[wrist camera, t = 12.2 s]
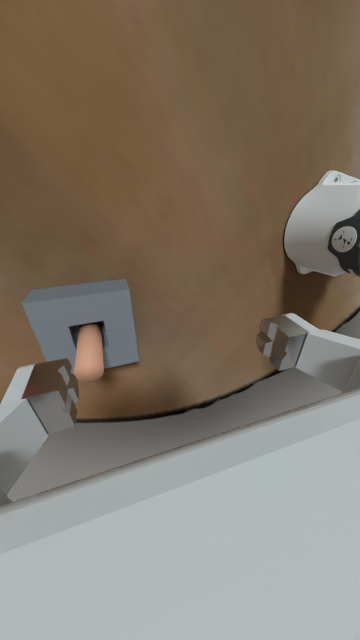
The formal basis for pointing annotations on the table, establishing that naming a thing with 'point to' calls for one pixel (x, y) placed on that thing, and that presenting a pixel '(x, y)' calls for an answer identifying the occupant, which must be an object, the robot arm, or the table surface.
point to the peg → (89, 352)
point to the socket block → (83, 320)
